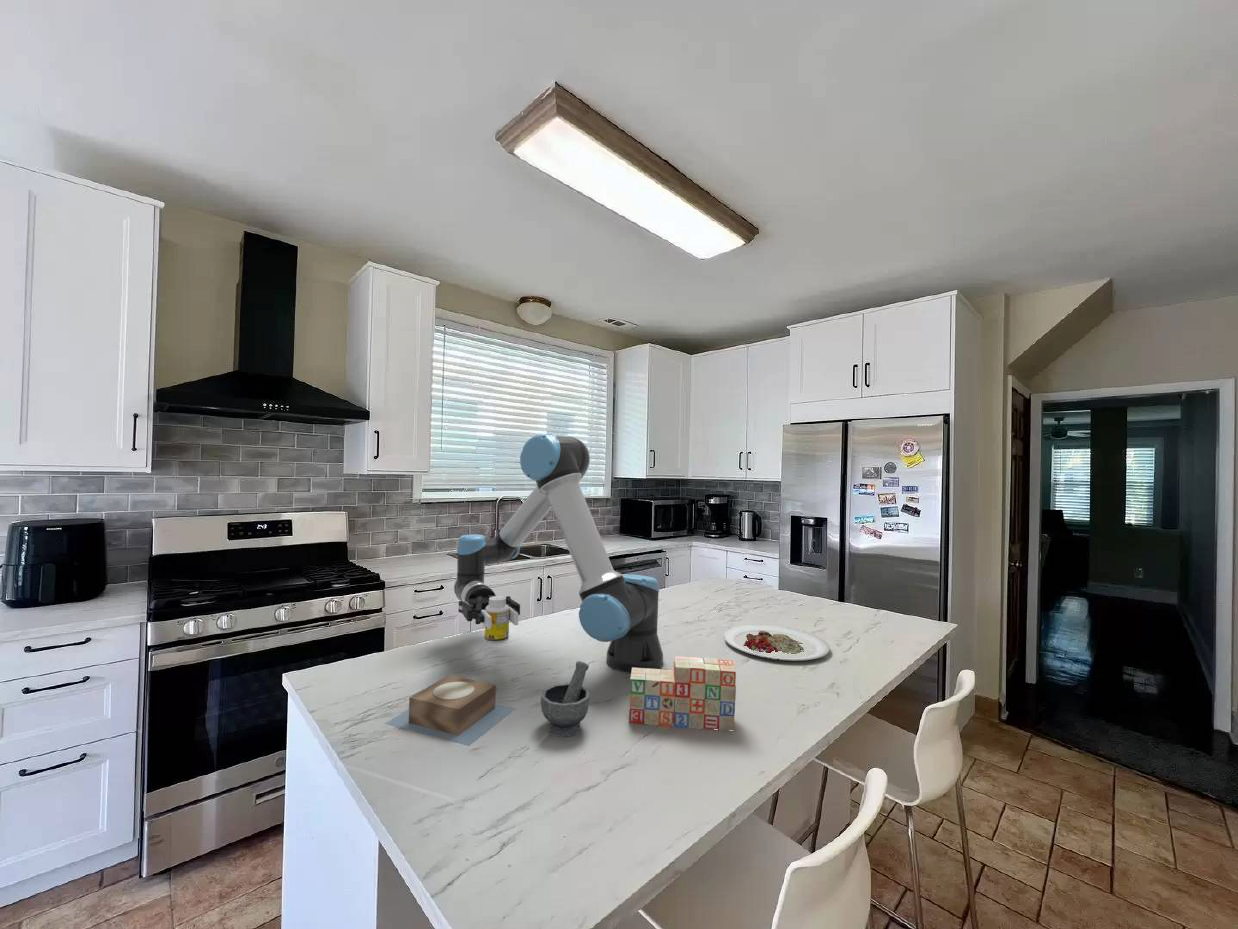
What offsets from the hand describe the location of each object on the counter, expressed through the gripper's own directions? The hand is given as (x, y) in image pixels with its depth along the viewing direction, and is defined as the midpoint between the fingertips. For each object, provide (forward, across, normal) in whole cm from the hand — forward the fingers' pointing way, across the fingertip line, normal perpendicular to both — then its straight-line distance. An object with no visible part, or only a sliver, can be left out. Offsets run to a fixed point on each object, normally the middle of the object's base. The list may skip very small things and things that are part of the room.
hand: (503, 621), depth 119 cm
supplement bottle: (-5, 0, -6) cm, 8 cm away
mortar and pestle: (+22, -7, -16) cm, 28 cm away
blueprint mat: (+8, +12, -16) cm, 22 cm away
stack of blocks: (+29, -29, -17) cm, 45 cm away
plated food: (+5, -82, -17) cm, 83 cm away
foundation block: (+8, +12, -16) cm, 21 cm away
